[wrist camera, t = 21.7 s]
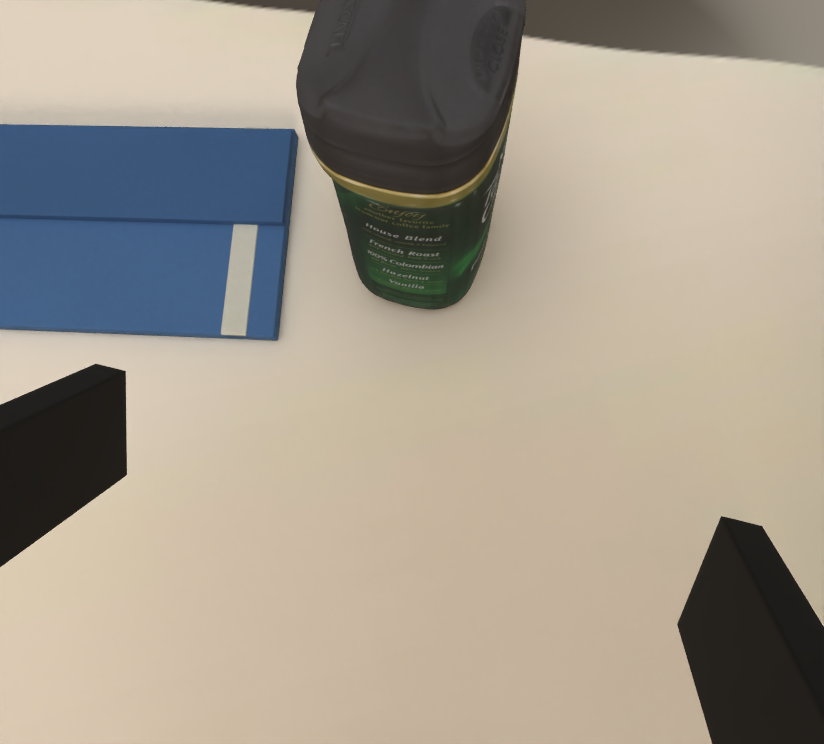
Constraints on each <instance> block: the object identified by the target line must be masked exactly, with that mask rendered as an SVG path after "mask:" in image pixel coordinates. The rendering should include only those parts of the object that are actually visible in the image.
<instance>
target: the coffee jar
mask: <svg viewBox="0 0 824 744" xmlns="http://www.w3.org/2000/svg"><path fill="white" fill-rule="evenodd" d="M525 1H526V0H320V2H319V5H318V7H317V10H316V12H315V15H314V18H313V21H312V24H311V27H310V30H309V33H308V36H307V39H306V42H305V46H304V50H303V53H302V57H301V60H300V63H299V65H298V73H297V80H296V89H297V97H298V104H299V107H300V111H301V115H302V119H303V123H304V127H305V132H306V136H307V139H308V142H309V144H310V147H311V150H312V152H313V154H314V156H315V157H316V159H317V161H318V162H319V164H320V165H321V167H322V168H323V170H324V171H325V172H326V173H327V174H328V175H329V176H330V177H331V178H332V180H333V183H334V187H335V190H336V193H337V197H338V201H339V204H340V207H341V211H342V214H343V218H344V222H345V225H346V229H347V234H348V238H349V242H350V246H351V251H352V255H353V259H354V262H355V266H356V269H357V272H358V275H359V277H360V279H361V281H362V283H363V284H364V285H365V286H366V287H367V288H368V289H369V290H370V291H371V292H372V293H374V294H375V295H377V296H379V297H382V298H384V299H386V300H389V301H392V302H396V303H399V304H402V305H406V306H411V307H416V308H424V309H440V308H445V307H448V306H450V305H453V304H454V303H456V302H458V301H459V300H460V299H461V298H462V297H463V296H464V295H465V294H466V293H467V292H468V290H469V289H470V287H471V285H472V283H473V280H474V278H475V276H476V273H477V271H478V268H479V265H480V262H481V260H482V257H483V253H484V249H485V245H486V242H487V237H488V232H489V228H490V222H491V217H492V211H493V206H494V202H495V197H496V193H497V188H498V183H499V179H500V174H501V168H502V164H503V158H504V154H505V147H506V141H507V134H508V129H509V123H510V117H511V111H512V105H513V99H514V94H515V88H516V82H517V75H518V67H519V57H520V49H521V41H522V33H523V29H524V25H525V15H526V14H525V13H526V2H525Z"/></svg>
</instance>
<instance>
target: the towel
mask: <svg viewBox="0 0 824 744" xmlns="http://www.w3.org/2000/svg"><path fill="white" fill-rule="evenodd" d="M297 143H298V136H297V134H296V132H295V130H294V129H269V128H191V127H129V126H68V125H7V124H0V329H12V330H36V331H60V332H85V333H109V334H134V335H158V336H182V337H207V338H231V339H256V340H278V333H279V323H280V313H281V303H282V293H283V283H284V273H285V263H286V253H287V243H288V233H289V223H290V213H291V203H292V193H293V183H294V173H295V163H296V153H297Z"/></svg>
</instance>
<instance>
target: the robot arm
mask: <svg viewBox="0 0 824 744" xmlns="http://www.w3.org/2000/svg"><path fill="white" fill-rule="evenodd" d="M126 475H127V451H126V371H123V370H119V369H115V368H111V367H107V366H102V365H98V364H94V365H92V366H90V367H87V368H85V369H83V370H80V371H78V372H76V373H73V374H71V375H69V376H66V377H64V378H62V379H59V380H57V381H55V382H52V383H50V384H48V385H45V386H43V387H41V388H39V389H36V390H34V391H32V392H29V393H27V394H25V395H22V396H20V397H18V398H15V399H13V400H11V401H8V402H6V403H4V404H1V405H0V567H1V566H3V565H4V564H5V563H7V562H8V561H9V560H11V559H12V558H13V557H15V556H16V555H18V554H19V553H20V552H22V551H23V550H24V549H26V548H27V547H29V546H30V545H31V544H33V543H34V542H35V541H37V540H38V539H40V538H41V537H42V536H44V535H45V534H46V533H48V532H49V531H51V530H52V529H53V528H55V527H56V526H57V525H59V524H60V523H62V522H63V521H64V520H66V519H67V518H68V517H70V516H71V515H73V514H74V513H75V512H77V511H78V510H79V509H81V508H82V507H84V506H85V505H86V504H88V503H89V502H90V501H92V500H93V499H94V498H96V497H97V496H99V495H100V494H101V493H103V492H104V491H105V490H107V489H108V488H110V487H111V486H112V485H114V484H115V483H116V482H118V481H119V480H121V479H122V478H123V477H125V476H126ZM677 625H678V628H679V632H680V635H681V638H682V642H683V645H684V649H685V652H686V655H687V659H688V662H689V666H690V669H691V672H692V676H693V679H694V683H695V686H696V690H697V693H698V696H699V700H700V703H701V707H702V710H703V713H704V717H705V720H706V724H707V727H708V730H709V734H710V737H711V741H712V744H824V627H823V625H822V623H821V622H820V620H819V618H818V617H817V615H816V614H815V612H814V610H813V609H812V607H811V605H810V604H809V602H808V600H807V599H806V597H805V596H804V594H803V592H802V591H801V589H800V587H799V586H798V584H797V583H796V581H795V579H794V578H793V576H792V574H791V573H790V571H789V569H788V568H787V566H786V565H785V563H784V561H783V560H782V558H781V556H780V555H779V553H778V552H777V550H776V548H775V547H774V545H773V543H772V542H771V540H770V538H769V537H768V535H767V534H766V532H765V530H764V529H763V527H762V526H759V525H755V524H751V523H747V522H743V521H739V520H735V519H731V518H727V517H722V516H721V518H720V521H719V523H718V526H717V528H716V530H715V533H714V535H713V538H712V540H711V543H710V545H709V548H708V550H707V553H706V555H705V558H704V560H703V562H702V565H701V567H700V570H699V572H698V575H697V577H696V580H695V582H694V585H693V587H692V589H691V592H690V594H689V597H688V599H687V602H686V604H685V607H684V609H683V612H682V614H681V617H680V619H679V621H678V624H677Z"/></svg>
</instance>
